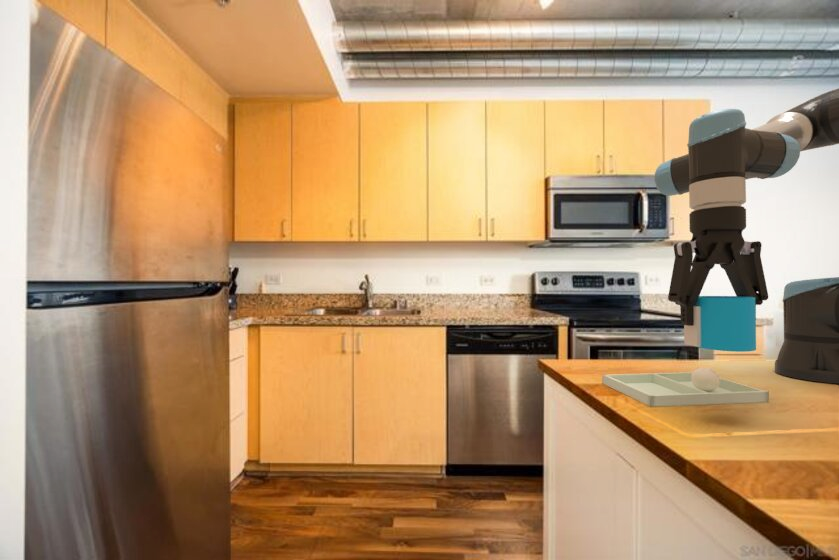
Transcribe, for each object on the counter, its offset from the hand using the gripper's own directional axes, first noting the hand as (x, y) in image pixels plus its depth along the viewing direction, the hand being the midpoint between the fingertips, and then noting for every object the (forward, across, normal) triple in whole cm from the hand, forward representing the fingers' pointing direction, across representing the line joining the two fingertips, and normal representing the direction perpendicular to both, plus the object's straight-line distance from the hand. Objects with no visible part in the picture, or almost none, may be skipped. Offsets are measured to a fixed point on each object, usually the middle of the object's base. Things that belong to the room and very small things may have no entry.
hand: (718, 344), depth 66 cm
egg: (+12, -10, -14) cm, 21 cm away
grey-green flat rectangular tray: (+13, -4, -14) cm, 19 cm away
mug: (0, -1, 0) cm, 1 cm away
